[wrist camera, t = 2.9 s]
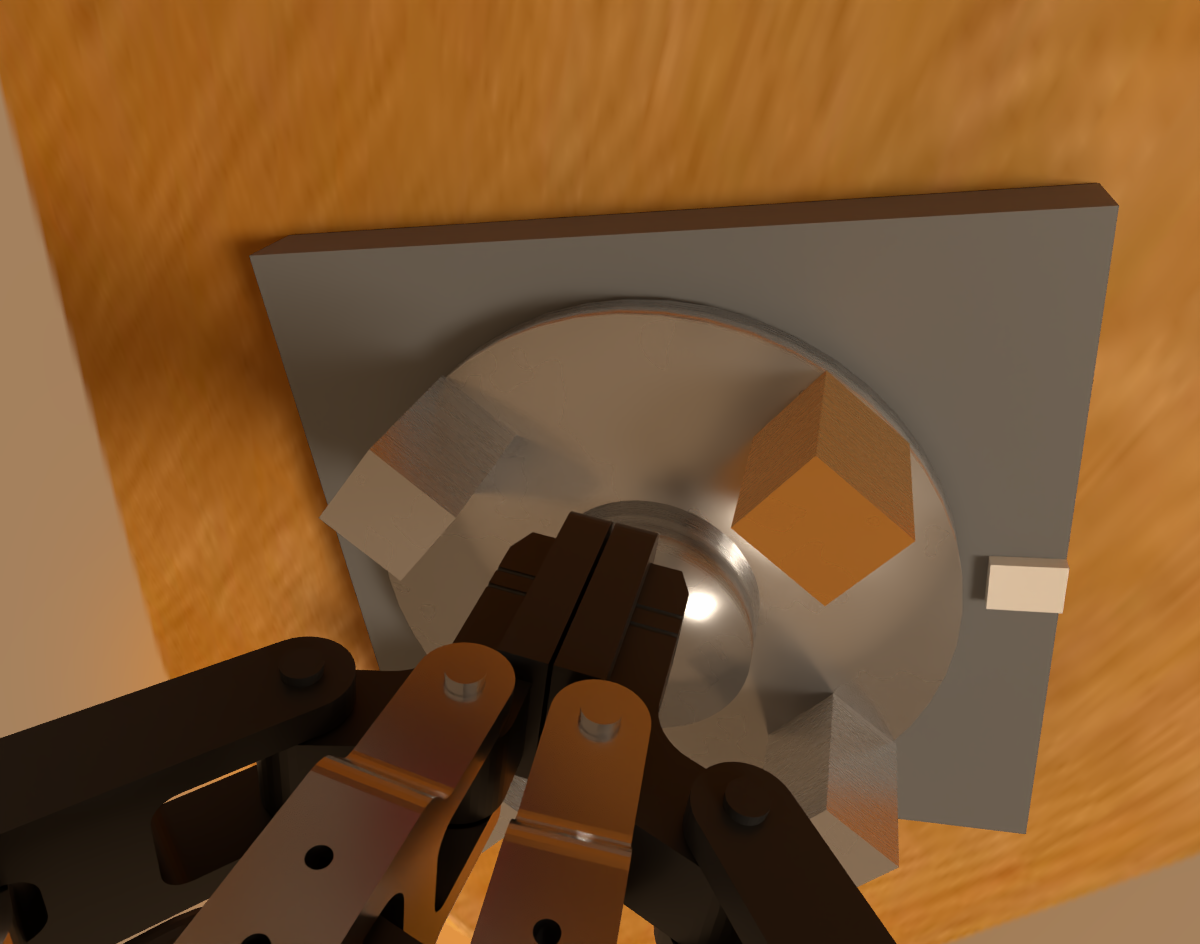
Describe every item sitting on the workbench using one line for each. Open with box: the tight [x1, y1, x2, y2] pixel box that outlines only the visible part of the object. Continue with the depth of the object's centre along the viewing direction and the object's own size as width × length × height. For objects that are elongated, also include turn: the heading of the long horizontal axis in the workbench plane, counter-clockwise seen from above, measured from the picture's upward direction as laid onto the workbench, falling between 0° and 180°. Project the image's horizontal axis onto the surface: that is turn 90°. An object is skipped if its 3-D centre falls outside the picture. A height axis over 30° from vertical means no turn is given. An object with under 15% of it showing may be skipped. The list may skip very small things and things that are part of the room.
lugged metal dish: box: [319, 299, 962, 887], centre depth 24 cm, size 16×16×5 cm
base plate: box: [249, 183, 1119, 834], centre depth 27 cm, size 19×21×2 cm
